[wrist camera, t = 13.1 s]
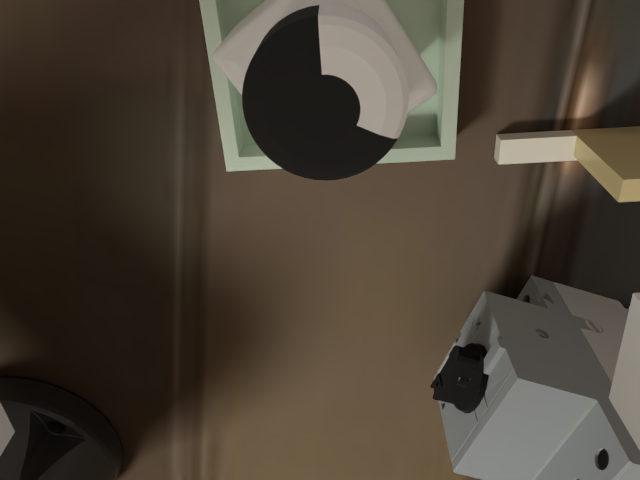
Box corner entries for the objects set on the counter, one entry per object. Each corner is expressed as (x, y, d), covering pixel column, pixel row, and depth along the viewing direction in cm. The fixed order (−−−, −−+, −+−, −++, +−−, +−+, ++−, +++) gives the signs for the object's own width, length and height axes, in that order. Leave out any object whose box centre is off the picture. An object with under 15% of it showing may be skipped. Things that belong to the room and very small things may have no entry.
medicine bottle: (314, 130, 33) (306, 233, 22) (233, 26, 30) (180, 89, 20) (420, 55, 30) (465, 131, 20) (343, -66, 28) (348, -50, 17)
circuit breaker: (447, 250, 37) (506, 431, 24) (636, 306, 39) (784, 501, 26) (403, 334, 41) (435, 529, 28) (579, 381, 43) (684, 585, 30)
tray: (233, 154, 34) (226, 171, 32) (196, -90, 28) (184, -90, 26) (447, 143, 34) (455, 159, 31) (459, -111, 27) (470, -112, 25)
